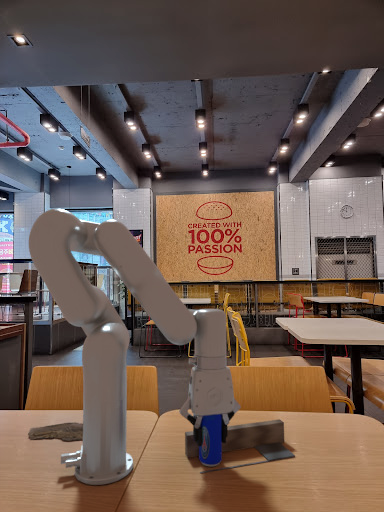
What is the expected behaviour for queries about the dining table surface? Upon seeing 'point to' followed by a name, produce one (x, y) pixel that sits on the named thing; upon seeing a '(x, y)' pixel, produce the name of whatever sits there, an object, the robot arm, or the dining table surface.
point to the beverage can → (211, 440)
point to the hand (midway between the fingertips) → (210, 441)
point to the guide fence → (249, 441)
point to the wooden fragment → (58, 432)
